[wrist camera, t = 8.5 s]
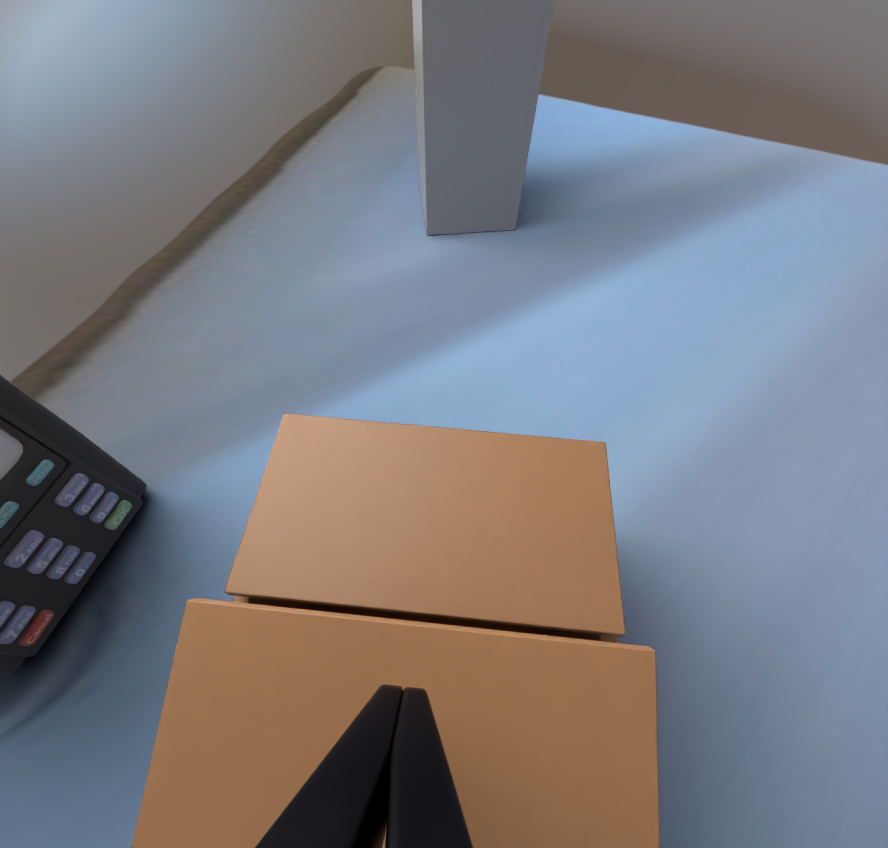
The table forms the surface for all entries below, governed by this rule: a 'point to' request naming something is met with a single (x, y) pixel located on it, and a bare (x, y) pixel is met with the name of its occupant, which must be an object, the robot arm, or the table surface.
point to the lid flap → (455, 710)
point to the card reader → (51, 519)
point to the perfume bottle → (476, 107)
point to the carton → (434, 528)
